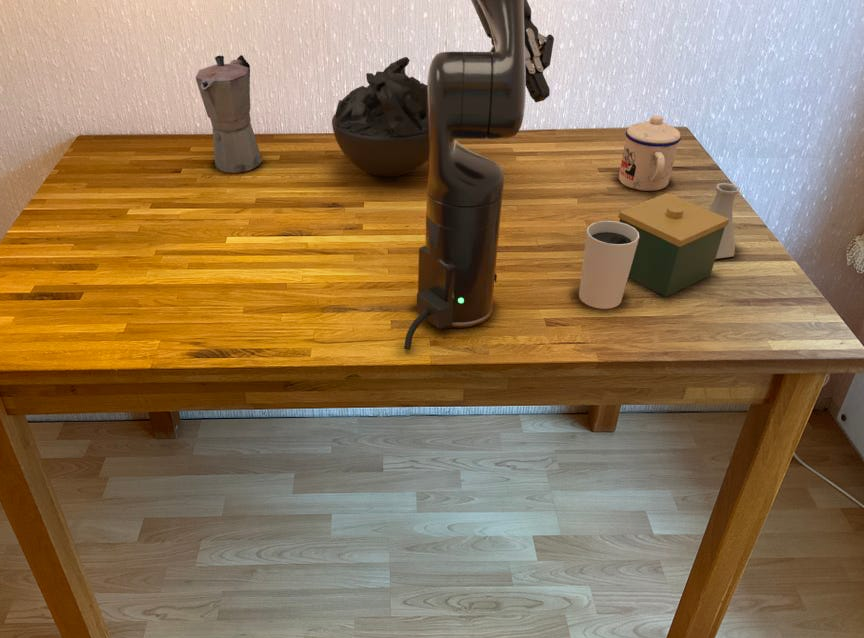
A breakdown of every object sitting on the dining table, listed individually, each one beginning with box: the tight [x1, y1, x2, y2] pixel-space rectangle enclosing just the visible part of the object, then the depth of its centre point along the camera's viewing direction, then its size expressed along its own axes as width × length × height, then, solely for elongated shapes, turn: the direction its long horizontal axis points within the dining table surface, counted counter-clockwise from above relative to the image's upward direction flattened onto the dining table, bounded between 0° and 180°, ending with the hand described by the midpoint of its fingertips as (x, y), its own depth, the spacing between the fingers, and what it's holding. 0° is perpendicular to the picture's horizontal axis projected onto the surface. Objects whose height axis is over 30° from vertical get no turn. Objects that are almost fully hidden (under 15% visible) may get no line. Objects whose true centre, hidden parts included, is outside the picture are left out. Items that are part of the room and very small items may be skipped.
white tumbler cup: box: [578, 220, 639, 310], centre depth 99 cm, size 7×7×10 cm
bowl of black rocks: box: [331, 56, 429, 178], centre depth 131 cm, size 20×20×19 cm
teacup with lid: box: [618, 114, 682, 192], centre depth 127 cm, size 12×9×12 cm
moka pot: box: [195, 54, 263, 174], centre depth 134 cm, size 10×15×20 cm, turn 163°
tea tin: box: [617, 192, 729, 298], centre depth 104 cm, size 10×10×10 cm
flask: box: [708, 182, 740, 260], centre depth 110 cm, size 7×7×10 cm
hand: (543, 98), depth 114 cm, fingers closed
